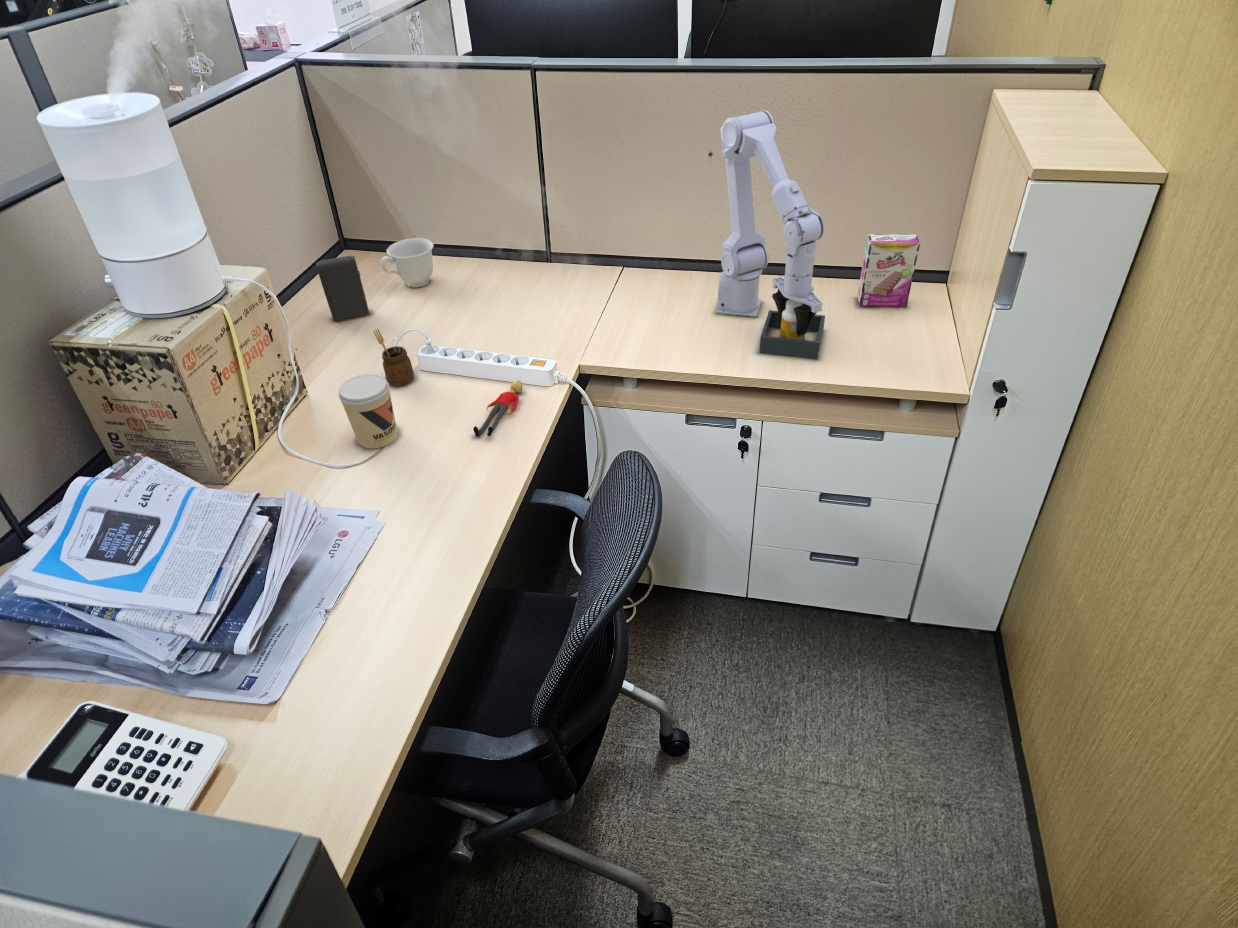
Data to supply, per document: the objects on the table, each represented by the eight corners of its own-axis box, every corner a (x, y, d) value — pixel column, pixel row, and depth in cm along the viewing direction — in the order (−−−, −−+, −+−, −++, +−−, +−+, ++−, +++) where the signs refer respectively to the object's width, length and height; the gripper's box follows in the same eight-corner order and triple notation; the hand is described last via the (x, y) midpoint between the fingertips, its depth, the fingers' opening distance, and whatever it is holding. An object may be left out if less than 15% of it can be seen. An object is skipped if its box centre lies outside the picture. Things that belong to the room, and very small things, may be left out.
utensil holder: (405, 389, 170) (392, 340, 163) (380, 384, 172) (367, 336, 164) (420, 374, 174) (408, 326, 167) (395, 370, 176) (383, 322, 169)
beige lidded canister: (377, 456, 152) (361, 405, 144) (343, 442, 156) (326, 391, 148) (411, 431, 158) (398, 380, 150) (378, 418, 162) (363, 368, 154)
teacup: (377, 287, 210) (367, 251, 204) (425, 269, 217) (417, 234, 211) (400, 301, 203) (391, 265, 196) (449, 282, 210) (442, 246, 204)
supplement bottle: (776, 337, 179) (780, 298, 173) (800, 334, 180) (804, 296, 174) (782, 349, 175) (786, 309, 169) (806, 346, 175) (811, 307, 169)
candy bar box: (859, 308, 188) (869, 242, 178) (856, 298, 192) (866, 233, 182) (908, 308, 187) (921, 242, 176) (904, 298, 191) (916, 233, 180)
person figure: (470, 418, 153) (509, 369, 166) (468, 433, 155) (507, 384, 168) (494, 429, 152) (532, 379, 165) (492, 443, 155) (528, 393, 168)
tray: (759, 353, 174) (760, 337, 172) (767, 325, 184) (769, 310, 181) (817, 359, 171) (819, 343, 169) (823, 331, 180) (825, 315, 178)
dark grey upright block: (370, 309, 200) (354, 253, 191) (371, 316, 197) (355, 259, 188) (332, 316, 198) (315, 259, 189) (333, 323, 195) (316, 266, 186)
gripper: (836, 279, 163) (829, 337, 172) (792, 255, 173) (787, 310, 182) (809, 288, 161) (803, 346, 169) (766, 262, 171) (762, 318, 179)
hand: (793, 328), depth 175 cm, fingers closed on supplement bottle, 5 cm apart
